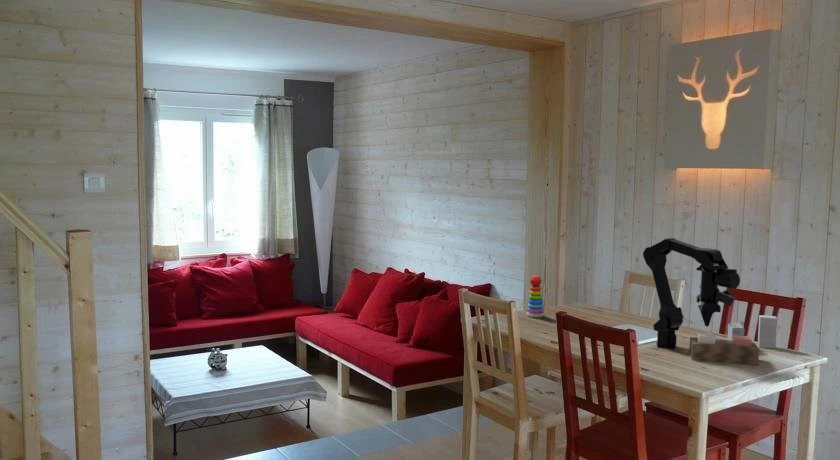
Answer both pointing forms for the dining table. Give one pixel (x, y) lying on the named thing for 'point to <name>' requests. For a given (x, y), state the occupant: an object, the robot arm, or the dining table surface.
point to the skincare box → (767, 331)
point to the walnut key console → (724, 352)
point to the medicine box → (734, 330)
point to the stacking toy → (535, 298)
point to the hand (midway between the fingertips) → (706, 326)
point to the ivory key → (706, 338)
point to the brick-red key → (741, 341)
